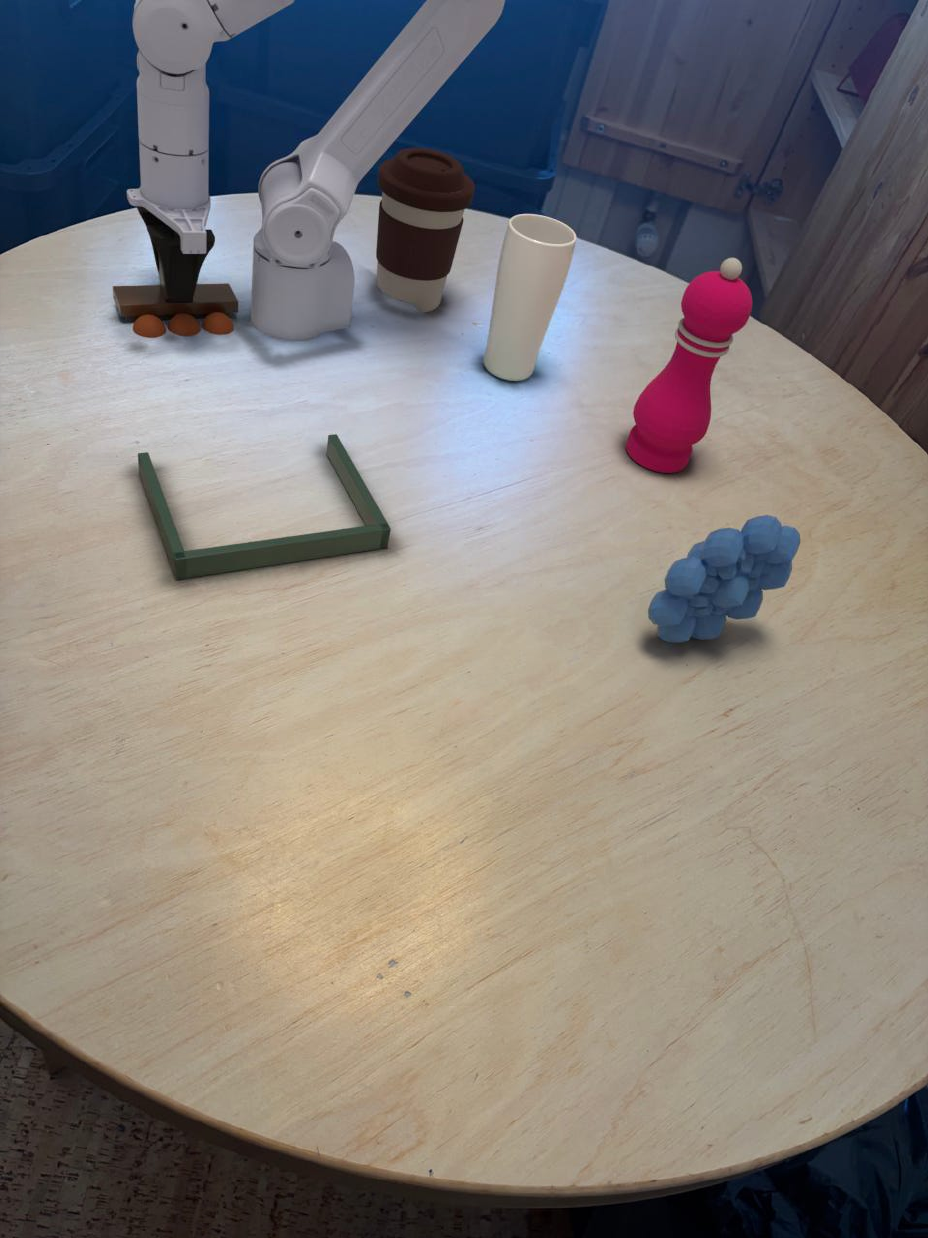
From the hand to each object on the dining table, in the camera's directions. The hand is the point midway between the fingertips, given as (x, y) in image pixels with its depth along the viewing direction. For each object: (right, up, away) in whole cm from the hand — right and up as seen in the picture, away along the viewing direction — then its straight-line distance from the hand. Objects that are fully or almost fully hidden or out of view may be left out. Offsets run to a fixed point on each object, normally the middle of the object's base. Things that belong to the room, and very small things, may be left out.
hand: (176, 291), depth 90 cm
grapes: (+45, -32, -14) cm, 57 cm away
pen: (+11, -22, -14) cm, 29 cm away
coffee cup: (+21, +4, +16) cm, 27 cm away
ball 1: (-2, -4, -1) cm, 5 cm away
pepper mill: (+46, -15, +3) cm, 49 cm away
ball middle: (+1, -4, 0) cm, 4 cm away
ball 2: (+4, -3, +1) cm, 5 cm away
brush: (-1, -2, +2) cm, 3 cm away
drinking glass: (+32, -5, +9) cm, 34 cm away
